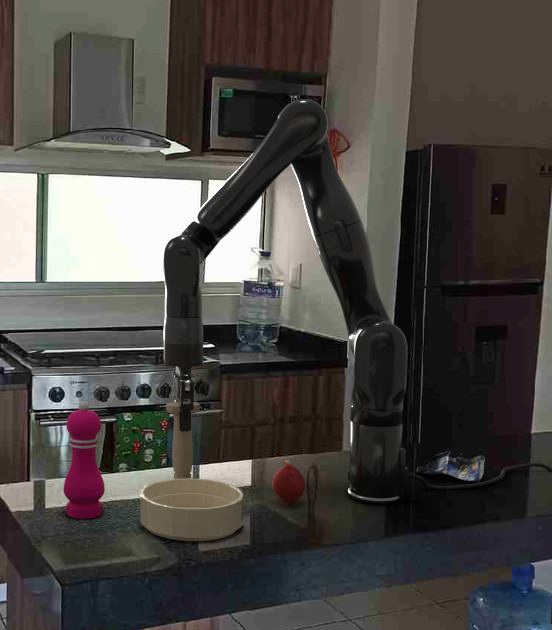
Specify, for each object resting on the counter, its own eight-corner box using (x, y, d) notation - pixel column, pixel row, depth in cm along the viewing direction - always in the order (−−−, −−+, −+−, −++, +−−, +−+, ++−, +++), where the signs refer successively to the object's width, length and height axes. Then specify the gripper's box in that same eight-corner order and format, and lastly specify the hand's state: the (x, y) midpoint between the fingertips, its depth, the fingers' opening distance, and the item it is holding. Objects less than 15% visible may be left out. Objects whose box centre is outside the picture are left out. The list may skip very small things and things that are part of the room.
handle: (202, 482, 159) (203, 405, 157) (170, 485, 157) (171, 407, 156) (193, 475, 163) (194, 400, 162) (162, 478, 161) (163, 402, 160)
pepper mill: (73, 522, 140) (72, 406, 139) (57, 510, 147) (56, 399, 145) (111, 516, 144) (111, 402, 142) (94, 504, 150) (93, 395, 148)
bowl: (232, 507, 148) (233, 477, 148) (252, 541, 131) (252, 508, 131) (137, 509, 147) (137, 479, 147) (143, 544, 130) (143, 510, 130)
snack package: (442, 487, 161) (494, 481, 163) (438, 454, 161) (491, 449, 164) (408, 481, 172) (457, 475, 175) (405, 450, 173) (454, 445, 176)
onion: (306, 501, 152) (307, 458, 151) (302, 510, 147) (303, 466, 146) (274, 498, 154) (275, 455, 153) (269, 507, 148) (270, 463, 148)
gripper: (208, 344, 151) (208, 436, 152) (197, 335, 165) (197, 419, 166) (167, 344, 150) (167, 436, 152) (160, 336, 165) (160, 420, 166)
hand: (183, 427), depth 159 cm, fingers closed on handle, 5 cm apart
